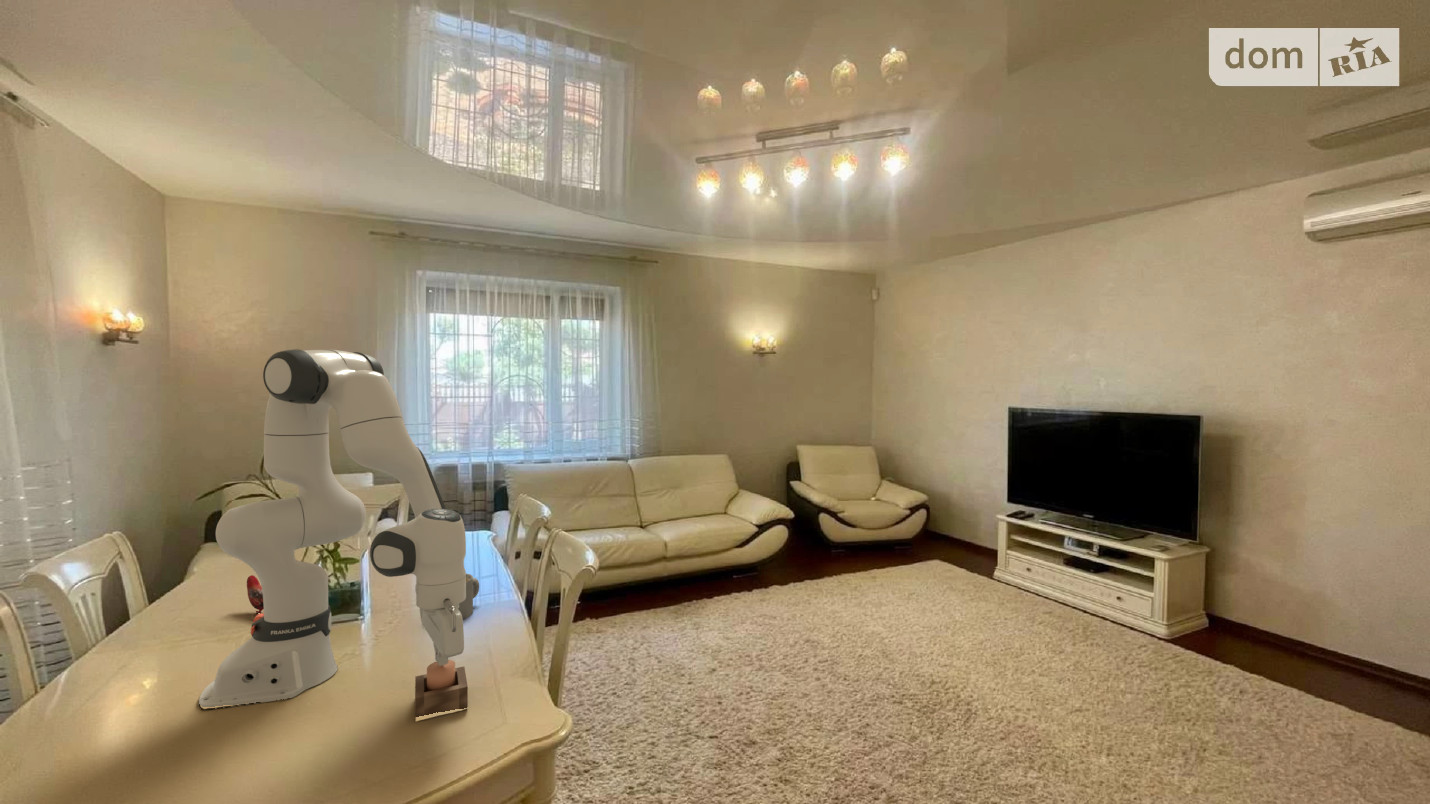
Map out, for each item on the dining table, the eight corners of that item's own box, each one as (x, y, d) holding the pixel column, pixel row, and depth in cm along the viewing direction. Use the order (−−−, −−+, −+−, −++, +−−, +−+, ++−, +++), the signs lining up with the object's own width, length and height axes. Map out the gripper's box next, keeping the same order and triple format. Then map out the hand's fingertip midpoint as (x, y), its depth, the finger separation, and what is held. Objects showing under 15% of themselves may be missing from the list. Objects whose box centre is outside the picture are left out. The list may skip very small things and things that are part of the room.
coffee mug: (445, 625, 146) (445, 587, 146) (426, 616, 152) (426, 580, 152) (491, 609, 157) (491, 574, 157) (471, 601, 163) (471, 567, 163)
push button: (427, 695, 106) (427, 674, 106) (426, 683, 110) (426, 663, 110) (455, 688, 108) (455, 668, 108) (454, 677, 113) (454, 657, 112)
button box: (415, 722, 103) (415, 698, 103) (415, 698, 111) (415, 676, 111) (467, 709, 107) (467, 686, 107) (464, 687, 115) (464, 666, 115)
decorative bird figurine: (254, 607, 157) (254, 572, 157) (282, 621, 148) (282, 583, 148) (241, 610, 154) (241, 575, 154) (269, 624, 145) (269, 587, 145)
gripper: (472, 604, 103) (473, 678, 103) (446, 576, 119) (446, 640, 119) (435, 612, 99) (436, 689, 99) (413, 582, 115) (413, 648, 115)
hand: (441, 662), depth 109 cm, fingers closed
